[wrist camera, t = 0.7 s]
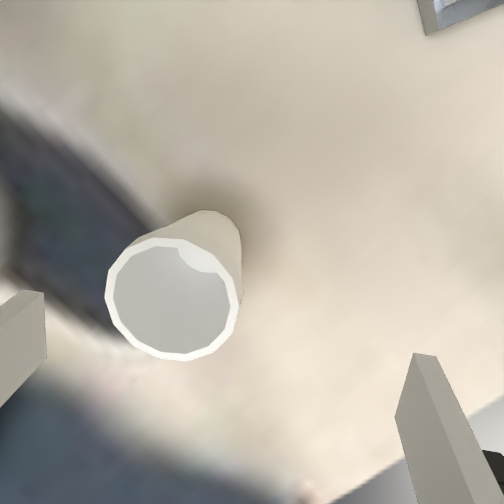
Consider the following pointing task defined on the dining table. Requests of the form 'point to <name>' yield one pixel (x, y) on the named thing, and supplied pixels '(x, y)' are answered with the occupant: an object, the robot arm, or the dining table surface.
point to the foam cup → (179, 287)
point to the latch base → (451, 11)
